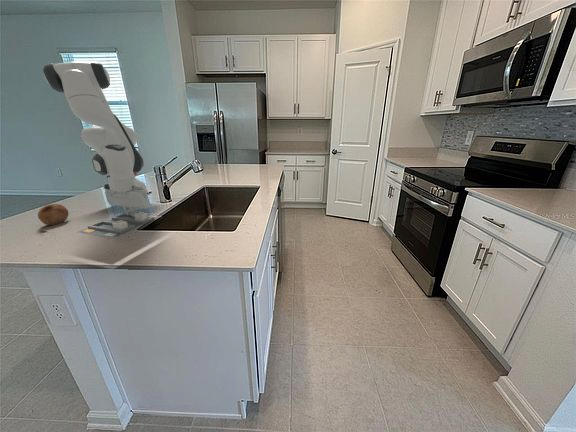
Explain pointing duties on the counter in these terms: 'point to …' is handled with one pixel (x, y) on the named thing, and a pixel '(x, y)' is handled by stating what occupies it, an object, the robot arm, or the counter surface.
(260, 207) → the counter surface
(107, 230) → the switch bank
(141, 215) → the tab
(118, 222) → the tab
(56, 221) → the onion
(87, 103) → the robot arm
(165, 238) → the counter surface
